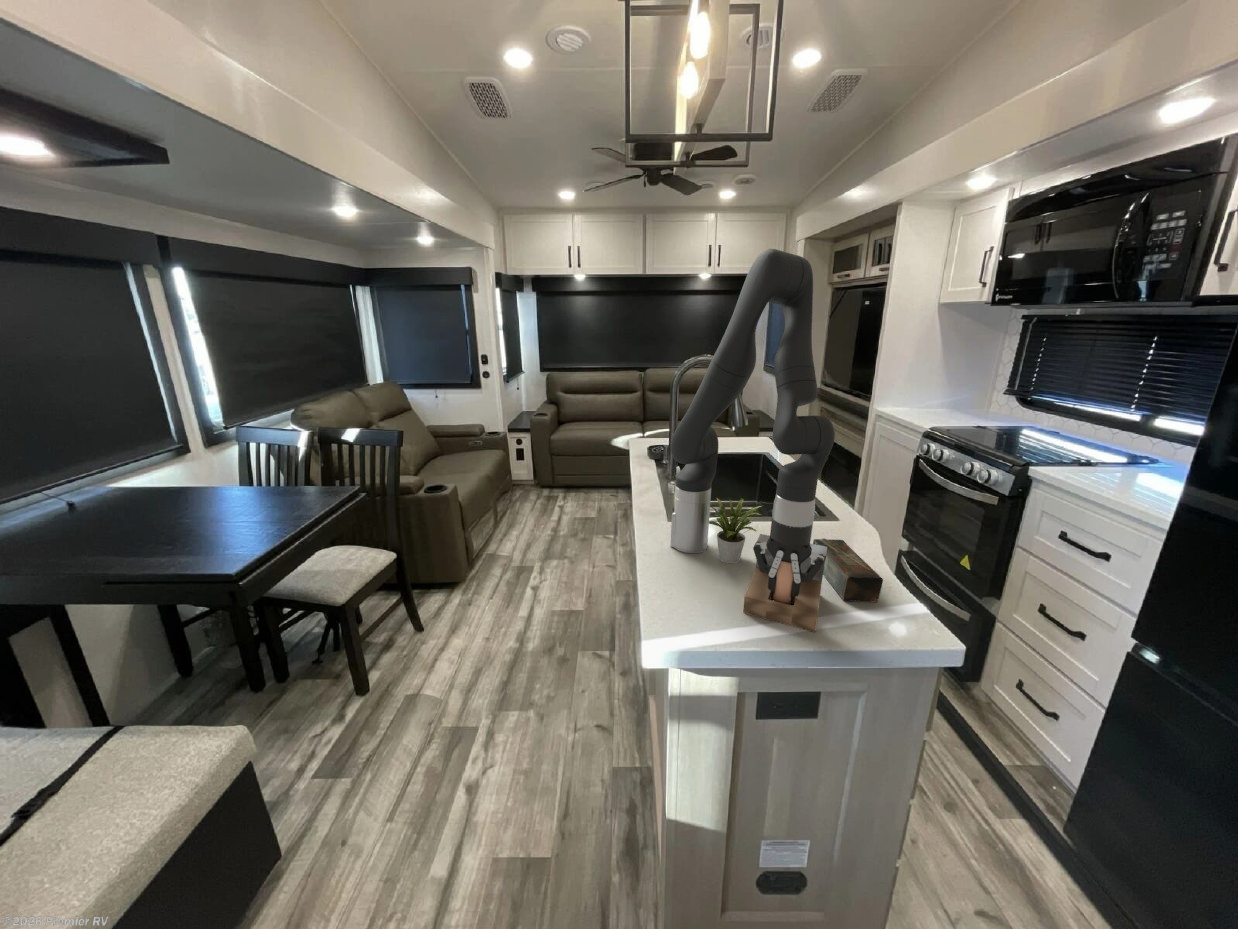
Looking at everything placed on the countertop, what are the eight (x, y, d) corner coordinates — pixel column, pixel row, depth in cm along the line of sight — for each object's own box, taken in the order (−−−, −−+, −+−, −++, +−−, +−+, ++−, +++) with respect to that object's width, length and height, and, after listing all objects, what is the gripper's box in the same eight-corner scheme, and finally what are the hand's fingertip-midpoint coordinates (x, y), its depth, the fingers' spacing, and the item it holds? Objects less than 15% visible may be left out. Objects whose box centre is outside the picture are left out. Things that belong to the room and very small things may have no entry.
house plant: (762, 578, 107) (769, 515, 102) (703, 572, 110) (707, 510, 105) (757, 550, 120) (763, 492, 115) (704, 545, 123) (708, 488, 118)
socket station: (742, 612, 95) (748, 561, 91) (755, 579, 107) (760, 533, 103) (815, 632, 89) (823, 578, 85) (819, 595, 101) (827, 546, 97)
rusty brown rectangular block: (840, 559, 116) (844, 536, 114) (880, 604, 98) (886, 577, 96) (809, 559, 116) (812, 536, 114) (843, 603, 98) (848, 577, 96)
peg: (774, 596, 96) (779, 554, 93) (791, 600, 95) (797, 557, 92) (772, 604, 93) (777, 561, 90) (789, 609, 92) (795, 565, 89)
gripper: (833, 516, 88) (820, 593, 94) (758, 504, 94) (751, 576, 100) (831, 532, 82) (818, 613, 87) (751, 517, 88) (744, 594, 93)
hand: (782, 593), depth 93 cm, fingers closed on peg, 3 cm apart
